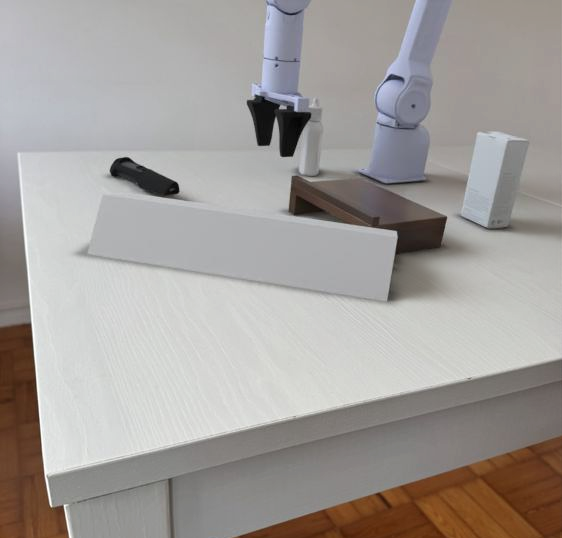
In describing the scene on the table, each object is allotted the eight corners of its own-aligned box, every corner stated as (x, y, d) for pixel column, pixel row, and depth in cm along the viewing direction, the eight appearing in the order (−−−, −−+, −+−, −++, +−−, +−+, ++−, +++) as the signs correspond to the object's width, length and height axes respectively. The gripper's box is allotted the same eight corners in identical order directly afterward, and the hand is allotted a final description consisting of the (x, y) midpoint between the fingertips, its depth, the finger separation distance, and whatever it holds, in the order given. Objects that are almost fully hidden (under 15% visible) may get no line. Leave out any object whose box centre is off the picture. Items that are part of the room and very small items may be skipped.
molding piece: (378, 327, 72) (391, 250, 74) (386, 302, 61) (401, 210, 62) (124, 286, 76) (142, 213, 78) (87, 254, 65) (108, 170, 66)
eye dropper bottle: (326, 171, 105) (335, 98, 99) (312, 177, 100) (320, 101, 94) (304, 167, 106) (312, 94, 100) (289, 172, 102) (296, 97, 96)
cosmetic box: (509, 227, 86) (534, 140, 79) (485, 229, 84) (509, 140, 78) (479, 213, 90) (501, 130, 84) (456, 215, 88) (477, 130, 82)
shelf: (356, 204, 89) (361, 170, 86) (440, 246, 76) (449, 208, 73) (288, 211, 83) (291, 175, 81) (366, 258, 70) (373, 217, 68)
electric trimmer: (162, 205, 82) (162, 182, 80) (107, 176, 91) (106, 154, 89) (185, 202, 84) (186, 179, 82) (129, 173, 93) (129, 152, 92)
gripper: (236, 53, 94) (233, 141, 101) (283, 64, 84) (275, 162, 91) (275, 54, 98) (269, 140, 105) (324, 66, 87) (314, 160, 94)
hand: (274, 150), depth 98 cm, fingers open, 7 cm apart
